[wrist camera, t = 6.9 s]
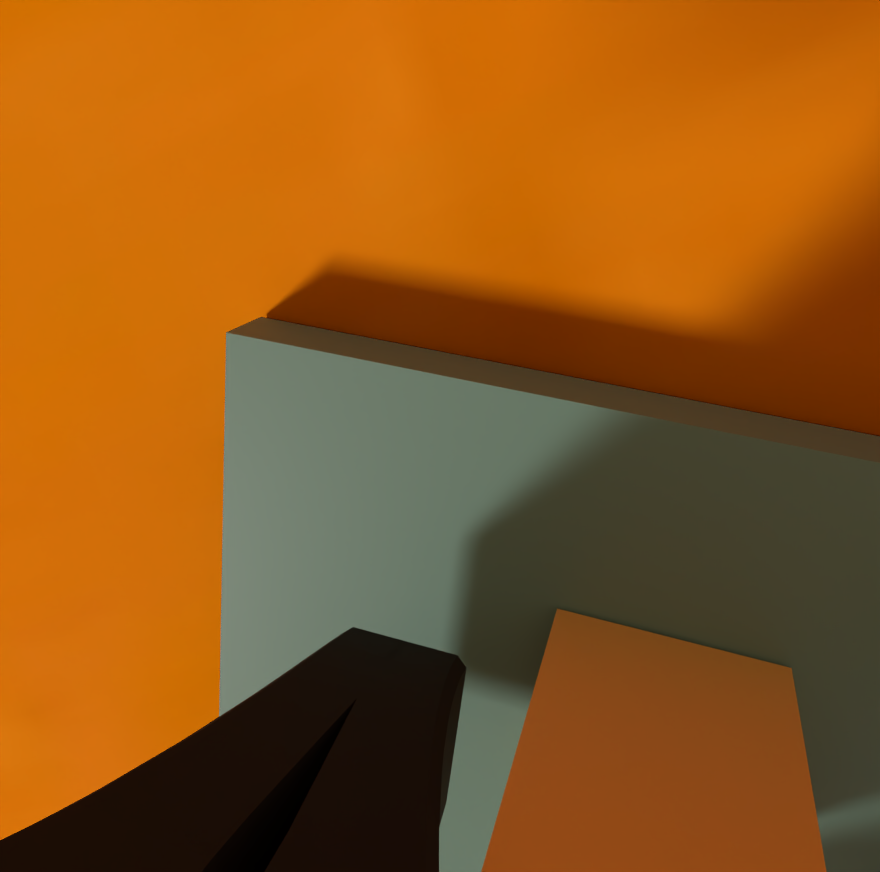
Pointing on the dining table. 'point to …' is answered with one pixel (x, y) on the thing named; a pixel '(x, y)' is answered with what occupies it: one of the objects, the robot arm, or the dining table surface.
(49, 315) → the dining table surface
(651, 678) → the lug slider
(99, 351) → the dining table surface
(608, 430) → the socket base
